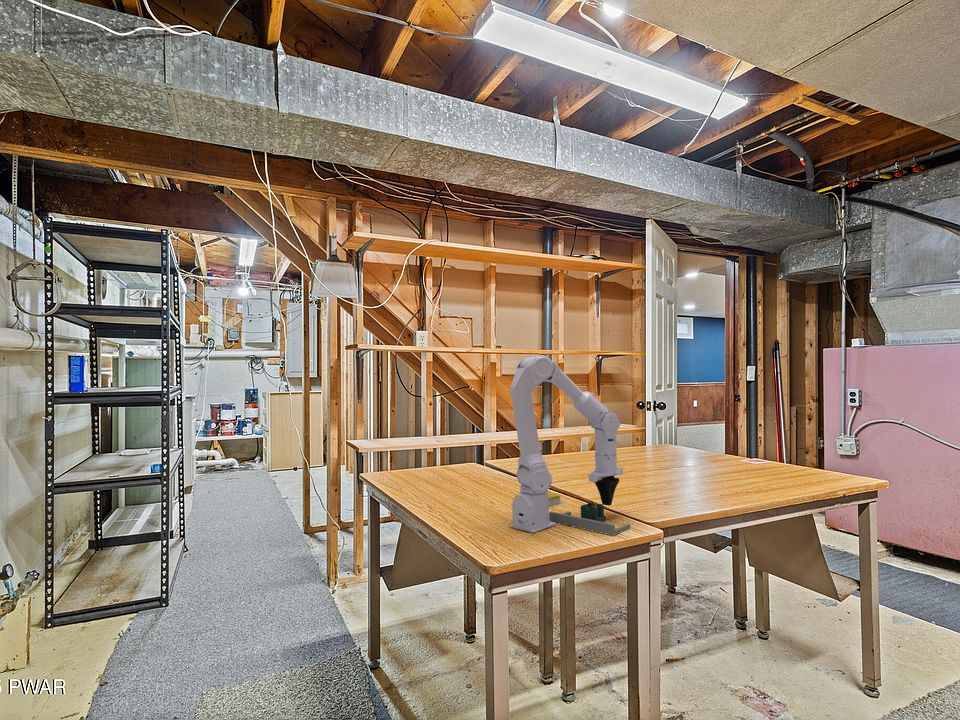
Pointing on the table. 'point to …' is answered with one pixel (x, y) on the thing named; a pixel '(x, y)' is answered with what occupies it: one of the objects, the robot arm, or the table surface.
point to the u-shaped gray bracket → (586, 523)
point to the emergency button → (553, 499)
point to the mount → (593, 512)
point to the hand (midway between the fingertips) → (606, 504)
